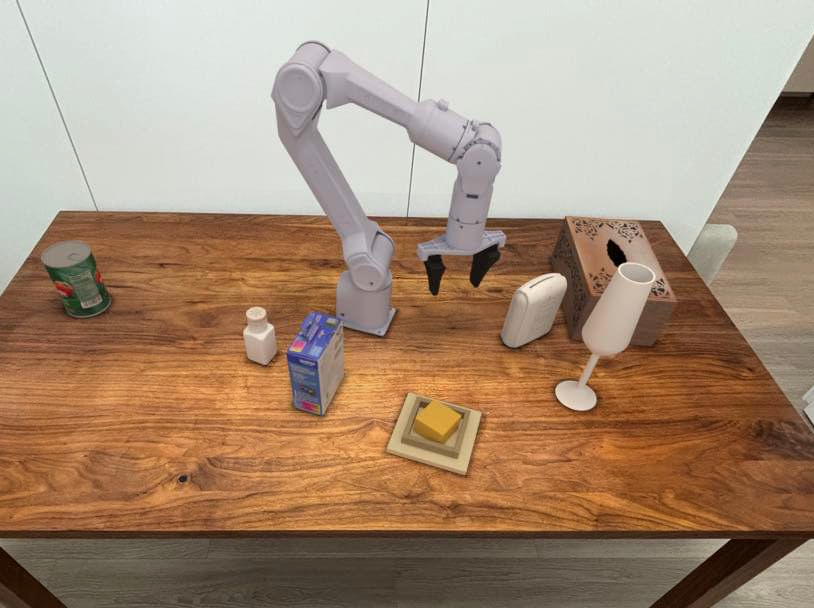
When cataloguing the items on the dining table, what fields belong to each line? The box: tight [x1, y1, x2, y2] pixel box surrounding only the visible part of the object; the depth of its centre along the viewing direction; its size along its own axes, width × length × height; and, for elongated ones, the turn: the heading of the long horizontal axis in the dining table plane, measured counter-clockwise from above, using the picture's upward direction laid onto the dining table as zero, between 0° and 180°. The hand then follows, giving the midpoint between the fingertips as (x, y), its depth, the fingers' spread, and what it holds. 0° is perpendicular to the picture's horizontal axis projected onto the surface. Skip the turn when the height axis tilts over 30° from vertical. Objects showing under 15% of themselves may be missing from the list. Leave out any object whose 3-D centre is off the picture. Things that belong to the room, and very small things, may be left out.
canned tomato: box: [40, 240, 112, 319], centre depth 95 cm, size 8×8×11 cm
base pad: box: [385, 391, 483, 476], centre depth 81 cm, size 12×12×2 cm
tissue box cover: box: [550, 215, 679, 347], centre depth 102 cm, size 26×14×10 cm, turn 175°
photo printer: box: [500, 272, 567, 349], centre depth 93 cm, size 10×4×12 cm, turn 123°
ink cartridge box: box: [285, 311, 345, 417], centre depth 82 cm, size 10×6×14 cm, turn 161°
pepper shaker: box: [242, 306, 278, 366], centre depth 88 cm, size 4×4×10 cm
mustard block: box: [413, 398, 461, 444], centre depth 80 cm, size 5×5×3 cm
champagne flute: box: [554, 263, 655, 412], centre depth 79 cm, size 7×7×24 cm
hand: (453, 288), depth 91 cm, fingers open, 7 cm apart
